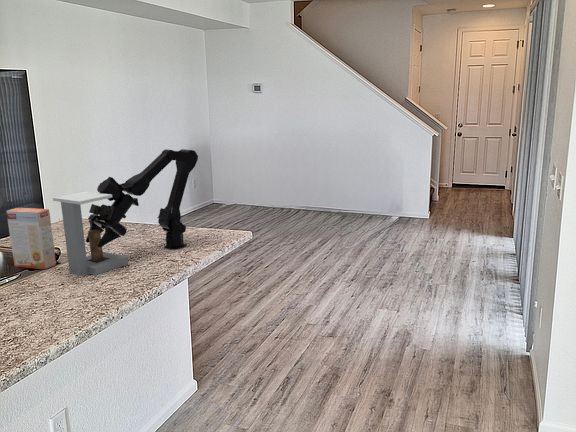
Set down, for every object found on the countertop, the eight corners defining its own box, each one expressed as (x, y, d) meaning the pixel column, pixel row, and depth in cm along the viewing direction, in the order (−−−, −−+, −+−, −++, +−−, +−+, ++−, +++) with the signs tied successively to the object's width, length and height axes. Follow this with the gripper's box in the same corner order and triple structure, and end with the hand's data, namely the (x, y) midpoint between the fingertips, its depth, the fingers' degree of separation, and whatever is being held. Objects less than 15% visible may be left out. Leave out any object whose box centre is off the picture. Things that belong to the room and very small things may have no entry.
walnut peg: (103, 263, 189) (99, 228, 186) (105, 266, 186) (100, 231, 183) (91, 265, 188) (87, 230, 184) (93, 268, 184) (88, 233, 181)
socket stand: (102, 257, 196) (95, 189, 190) (128, 263, 189) (121, 192, 183) (62, 271, 182) (52, 197, 176) (88, 277, 175) (79, 201, 169)
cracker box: (57, 265, 189) (50, 208, 185) (44, 270, 184) (36, 212, 179) (26, 261, 194) (18, 206, 189) (13, 267, 188) (5, 210, 184)
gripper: (90, 192, 190) (63, 227, 185) (115, 198, 177) (86, 236, 172) (113, 209, 198) (87, 244, 192) (138, 217, 185) (111, 254, 179)
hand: (92, 244), depth 184 cm, fingers open, 9 cm apart
